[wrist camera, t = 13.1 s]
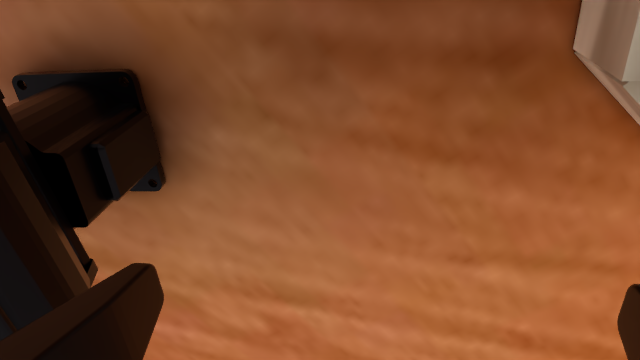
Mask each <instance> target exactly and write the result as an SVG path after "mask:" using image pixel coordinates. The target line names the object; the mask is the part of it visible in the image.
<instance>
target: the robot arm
mask: <svg viewBox="0 0 640 360" xmlns="http://www.w3.org/2000/svg"><path fill="white" fill-rule="evenodd" d="M123 77H125V78H127V80H128V81H129V85H128V84H126V83H125V82H124V80H123ZM23 81H24V82H25V84H26V85H27V87H26V86H25V85H24V84H23ZM12 83H13V87H14V89H15V92H16V94H17V97H18V99H19V102H17V103H15V104H13V105H10V106H8V107H6V106H5V104H4V102H3V100H2V99H4V98H5V97H4V95H3V94H2V92H1V90H0V360H143V357H144V355H145V352H146V349H147V347H148V344H149V341H150V338H151V336H152V333H153V330H154V327H155V325H156V322H157V319H158V317H159V314H160V311H161V308H162V305H163V301H164V294H163V290H162V287H161V284H160V281H159V278H158V274H157V271H156V269H155V267H154V266H153V265H152V264H147V263H133V264H131V265H129V266H127V267H126V268H124V269H122V270H120V271H119V272H117V273H115V274H114V275H112V276H110V277H108V278H107V279H105V280H103V281H102V282H100V283H98V284H96V285H95V286H93V287H91V286H92V283H93V281H94V278H95V276H96V273H97V271H98V268H97V266H96V264H95V262H94V260H93V259H90V258H89V257H88V255H87V253H86V251H85V249H84V247H83V246H82V244H81V242H80V240H79V238H78V236H77V235H76V233H75V231H74V229H75V228H76V227H87V226H88V225H89V224H90V223H91V222H92V221H93V220H95V219H96V218H97V217H98V216H99V215H100V214H101V213H102V212H103V211H104V210H105V209H106V208H107V207H108V206H109V205H110V204H111V203H112V202H113V201H118V200H120V199H121V198H122V197H123V196H124V195H125V194H126V193H127V192H128V191H159V190H160V189H161V188H162V187H163V186H164V184H165V179H164V175H163V171H162V167H161V164H160V158H161V157H160V153H159V150H158V146H157V142H156V138H155V135H154V131H153V127H152V124H151V120H150V116H149V114H148V113H147V112H146V108H145V105H144V101H143V97H142V94H141V90H140V86H139V83H138V79H137V77H136V75H135V74H134V73H133V72H132V71H130V70H127V69H117V70H89V71H62V72H35V73H22V74H19V75H16V76H14V77H13V79H12ZM152 179H154V180H155V181H156V182H157V184H156V183H154V182H153V181H152ZM618 331H619V334H620V337H621V340H622V343H623V346H624V349H625V352H626V355H627V358H628V360H640V284H633V285H631V286H630V287H629V288H628V290H627V292H626V295H625V298H624V301H623V304H622V307H621V310H620V313H619V316H618Z"/></svg>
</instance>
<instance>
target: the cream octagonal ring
mask: <svg viewBox="0 0 640 360" xmlns="http://www.w3.org/2000/svg"><path fill="white" fill-rule="evenodd" d="M573 49H574V50H575V51H576V52H574V54H575V55H576V56H577V57H578V58H579V59H580V60H581V61H582V62H583V63H584V65H585V66H586V67H587V68H588V69H589V70H590V71H591V72H592V73H593V74H594V76H595V77H596V78H597V79H598V80H599V81H600V82H601V83H602V84H603V85H604V87H605V88H606V89H607V90H608V91H609V92H610V93H611V94H612V95H613V97H614V98H615V99H616V100H617V101H618V102H619V103H620V104H621V105H622V106H623V108H624V109H625V110H626V111H627V112H628V113H629V114H630V115H631V116H632V117H633V119H634V120H635V121H636V122H637V123H638V124H639V125H640V0H582V5H581V10H580V15H579V20H578V26H577V31H576V36H575V41H574V46H573Z"/></svg>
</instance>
